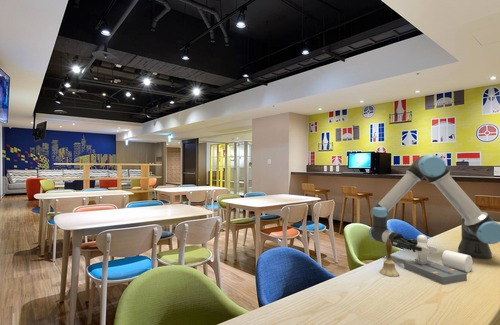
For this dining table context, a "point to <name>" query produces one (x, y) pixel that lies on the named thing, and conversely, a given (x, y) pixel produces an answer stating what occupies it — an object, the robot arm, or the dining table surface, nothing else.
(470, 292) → the dining table surface
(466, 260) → the mug
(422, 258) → the lever
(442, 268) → the console
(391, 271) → the hand bell
